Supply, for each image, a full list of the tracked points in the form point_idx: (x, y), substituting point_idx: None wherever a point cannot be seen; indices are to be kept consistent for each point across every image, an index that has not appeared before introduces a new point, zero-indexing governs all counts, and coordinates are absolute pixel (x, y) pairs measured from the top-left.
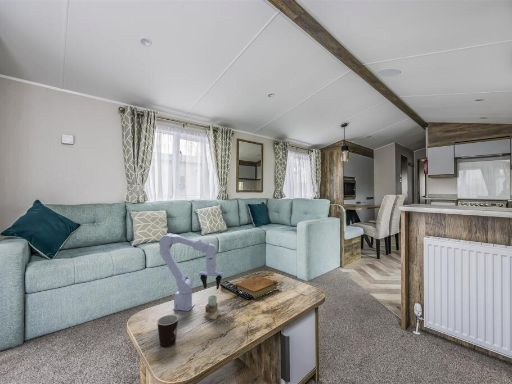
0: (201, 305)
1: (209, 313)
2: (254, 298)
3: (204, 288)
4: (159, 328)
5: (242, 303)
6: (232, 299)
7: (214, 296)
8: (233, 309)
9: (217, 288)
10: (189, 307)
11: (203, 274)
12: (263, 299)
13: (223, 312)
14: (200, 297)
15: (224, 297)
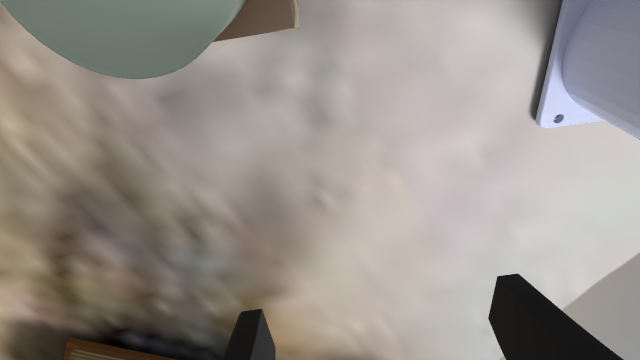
0: (457, 137)
1: None
2: (72, 347)
3: (515, 275)
4: None
5: (107, 272)
6: (232, 299)
7: (85, 22)
8: (94, 161)
9: (240, 323)
10: (586, 18)
11: None
12: (12, 354)
13: None
14: (518, 257)
15: (314, 306)
